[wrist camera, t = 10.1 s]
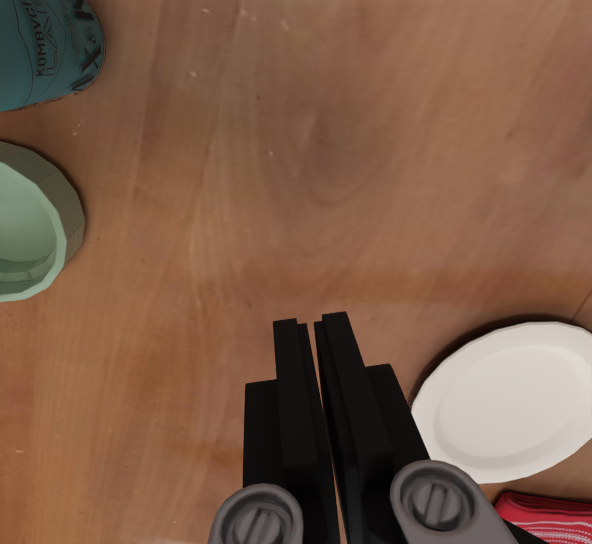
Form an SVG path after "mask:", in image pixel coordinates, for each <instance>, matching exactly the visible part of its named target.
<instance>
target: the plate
mask: <svg viewBox="0 0 592 544" xmlns="http://www.w3.org/2000/svg"><path fill="white" fill-rule="evenodd" d="M411 413H412V416H413V418H414V420H415V423H416V425H417V428H418V430H419V432H420V435H421V437H422V439H423V442H424V444H425V446H426V449H427V451H428V454H429V456H430V458H431V460H438V461H444V462H447V463H449V464H452V465H455V466H457V467H458V468H460V469H461V470H463V471H464V472H466V473H467V474H469V475H470V477H471V478H472V479H473V480H474V481H475V482H476V483H479V484H480V483H499V482H506V481H511V480H515V479H519V478H524V477H528V476H530V475H533V474H535V473H538V472H540V471H543V470H545V469H548V468H550V467H552V466H554V465H555V464H557V463H559V462H560V461H562V460H564V459H565V458H567V457H568V456H570V455H572V454H573V453H575V452H576V451H577V450H578V449H579V448H580V447H581V446H583V445H584V444H585V443H586V442H587V441H588V440H589V439H591V438H592V333H590V332H588V331H587V330H585V329H583V328H582V327H579V326H575V325H571V324H566V323H562V322H558V321H527V322H522V323H518V324H514V325H509V326H505V327H501V328H497V329H494V330H492V331H490V332H488V333H486V334H483V335H481V336H479V337H477V338H475V339H473V340H470V341H468V342H466V343H465V344H464V345H462V346H461V347H460V348H458V349H457V350H455V351H454V352H453V353H451V354H450V355H449V356H447V357H446V358H445V359H443V360H442V361H441V362H440V363H439V364H438V365H437V367H436V368H435V369H434V370H433V371H432V372H431V373H430V374H429V376H428V377H427V378H426V379H425V380H424V381H423V383H422V385H421V387H420V389H419V391H418V393H417V395H416V397H415V399H414V400H413V402H412V407H411Z"/></svg>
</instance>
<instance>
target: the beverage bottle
mask: <svg viewBox="0 0 592 544" xmlns="http://www.w3.org/2000/svg"><path fill="white" fill-rule="evenodd" d="M89 4H90V3H89ZM91 7H92V6H91ZM93 10H94V9H93ZM93 10H92V9H91V8H90V6H89V5H88V4H87V3H86V1H85V0H0V112H1V111H6V110H10V109H13V110H11V111H16V112H17V110H18V109H16V108H18V107H21V108H20V110H21V109H22V108H23V106H24V107H25V106H26V107H27V105H29V104H33V103H36V104H38V103H37V102H41V101H44V100H45V101H46V100H48V99H52V98H56V97H57V98H58V97H59V96H63V95H67V94H71V93H74V92H77V91H80V92H81V91H82V90H83V88H86V87H87V86H88V85H89V84H90V83H91V82H92V81H94V79H95V78H96V76H98V75H97V74H99V71H100V69H101V66H102V63H103V58H104V38H105V37H104V38H103V33H104V32H103V33H102V30H103V28H102V30H101V26H102V25H101V26H100V24H99V22H98V19H99V18H98V19H97V17H98V16H97V17H96V16H95V14H94V12H93ZM95 13H96V12H95ZM96 15H97V14H96ZM99 21H100V20H99ZM105 56H106V44H105ZM104 62H105V60H104ZM103 65H104V64H103ZM102 69H103V68H102ZM101 71H102V70H101ZM100 73H101V72H100ZM98 77H99V76H98ZM96 80H97V79H96ZM92 83H93V82H92ZM90 85H91V84H90ZM92 85H93V84H92ZM92 85H91V86H92ZM88 87H89V86H88ZM83 92H84V90H83ZM75 94H77V93H75ZM78 94H80V93H78ZM59 98H62V99H64V98H63V97H59ZM58 100H60V99H58ZM55 101H56V100H55ZM46 102H47V101H46ZM50 102H53V100H52V101H50ZM42 103H43V102H42ZM47 103H49V102H47ZM44 104H45V102H44ZM33 105H34V104H33ZM40 105H41V104H40ZM35 106H36V105H35ZM35 106H34V107H35ZM14 108H15V109H16V110H14ZM29 108H30V106H29ZM29 108H28V109H29ZM20 110H18V111H20ZM24 110H25V109H24ZM6 112H7V111H6Z"/></svg>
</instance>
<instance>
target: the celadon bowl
mask: <svg viewBox="0 0 592 544" xmlns="http://www.w3.org/2000/svg"><path fill="white" fill-rule="evenodd" d="M84 227H85V218H84V214H83V211H82V208H81V204H80V201H79V197H78V195H77V192H76V191H75V190H74V189H73V187H72V186H71V185H70V183H69V182H68V181H67V179H66V178H65V177H64V175H63V174H62V173H61V171H60V170H59V169H58V168H57V167H55V166H54V165H52V164H51V163H49V162H48V161H46V160H45V159H43V158H42V157H41V156H39V155H38V154H36V153H35V152H33V151H32V150H29V149H26V148H23V147H19V146H16V145H12V144H9V143H5V142H2V141H0V302H4V301H15V300H24V299H27V298H29V297H31V296H33V295H35V294H37V293H39V292H41V291H42V290H44V289H46V288H48V287H49V286H50V285H51V284H52V283H53V282H54V280H55V279H56V278H57V277H58V276H59V274H60V273H61V272H62V271H63V269H64V268H65V267H66V266H67V265H68V263H69V262H70V261H71V259H72V258H73V257H74V255H75V254H76V252H77V251H78V250H79V248H80V247H81V245H82V241H83V234H84Z"/></svg>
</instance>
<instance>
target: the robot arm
mask: <svg viewBox="0 0 592 544" xmlns="http://www.w3.org/2000/svg"><path fill="white" fill-rule="evenodd" d="M314 330H315V340H316V349H317V358H318V367H319V377H320V386H321V395H322V404H323V409H322V404H321V398H320V393H319V388H318V382H317V377H316V371H315V366H314V361H313V355H312V350H311V345H310V339H309V334H308V328H307V323H303V324H297V319H296V318H293V319H286V320H279V321H273V331H274V346H275V361H276V375H277V379H274V380H267V381H260V382H253V383H246V385H245V412H244V452H243V489H240V490H238V491H236V492H235V493H234V494H232V495H231V496H230V497H229V498H227V499H226V500H225V502H224V503H223V504H222V505H221V507H220V508H219V509H218V511H217V513H216V515H215V518H214V520H213V523H212V526H211V531H210V535H209V539H208V543H207V544H341V543H340V533H339V524H338V514H337V504H336V495H335V485H334V475H333V469H334V474H335V480H336V485H337V491H338V496H339V501H340V507H341V512H342V517H343V523H344V528H345V534H346V539H347V544H550V543H548V542H546V541H544V540H543V539H541V538H539V537H537V536H535V535H533V534H531V533H529V532H528V531H526V530H524V529H522V528H520V527H518V526H516V525H515V524H513V523H511V522H509V521H507V520H505V519H503V518H501V517H500V516H499V514H498V513H497V511H496V510H495V509H494V507H493V506H492V504H491V503H490V501H489V500H488V498H487V497H486V496H485V494H484V493H483V491H482V490H481V488H480V487H479V485H478V484H477V483H476V482H475V481H474V480H473V479H472V478H471V477H470V475H469V474H467V473H466V472H464V471H463V470H461V469H460V468H458V467H457V466H455V465H452V464H449V463H447V462H444V461H438V460H431V458H430V456H429V454H428V451H427V449H426V446H425V444H424V442H423V439H422V437H421V435H420V432H419V430H418V428H417V425H416V423H415V420H414V418H413V416H412V413H411V411H410V409H409V406H408V404H407V401H406V399H405V397H404V394H403V392H402V390H401V387H400V385H399V383H398V380H397V378H396V375H395V373H394V371H393V369H392V367H391V365H390V364H382V365H374V366H367V367H365V366H364V363H363V360H362V357H361V354H360V351H359V348H358V345H357V342H356V339H355V336H354V333H353V330H352V327H351V324H350V321H349V319H348V316H347V313H346V312H345V311H344V312H337V313H330V314H322V321H318V322H314ZM323 413H324V414H323ZM331 458H332V459H331ZM332 464H333V467H332Z"/></svg>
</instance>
